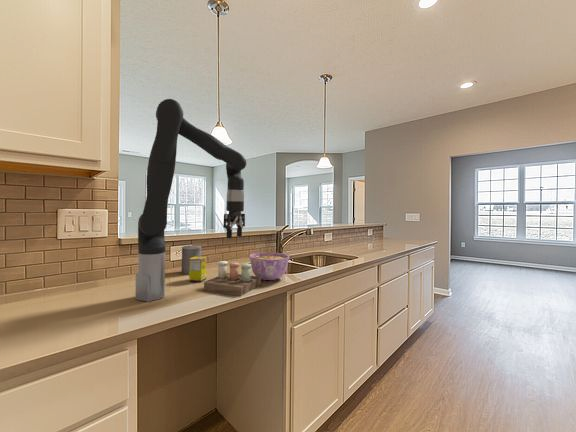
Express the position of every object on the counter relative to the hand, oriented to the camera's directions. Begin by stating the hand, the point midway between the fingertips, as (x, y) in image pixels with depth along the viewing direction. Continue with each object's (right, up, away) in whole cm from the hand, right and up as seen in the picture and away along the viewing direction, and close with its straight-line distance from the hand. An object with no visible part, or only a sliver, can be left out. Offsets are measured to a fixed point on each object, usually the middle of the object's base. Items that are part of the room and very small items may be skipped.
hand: (234, 237), depth 121 cm
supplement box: (-19, -22, +9) cm, 30 cm away
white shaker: (-6, -18, +2) cm, 19 cm away
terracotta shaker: (0, -19, 0) cm, 19 cm away
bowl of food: (+14, -22, +16) cm, 31 cm away
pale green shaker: (+5, -19, -2) cm, 20 cm away
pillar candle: (-28, -21, +24) cm, 42 cm away
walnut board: (0, -22, 0) cm, 22 cm away
